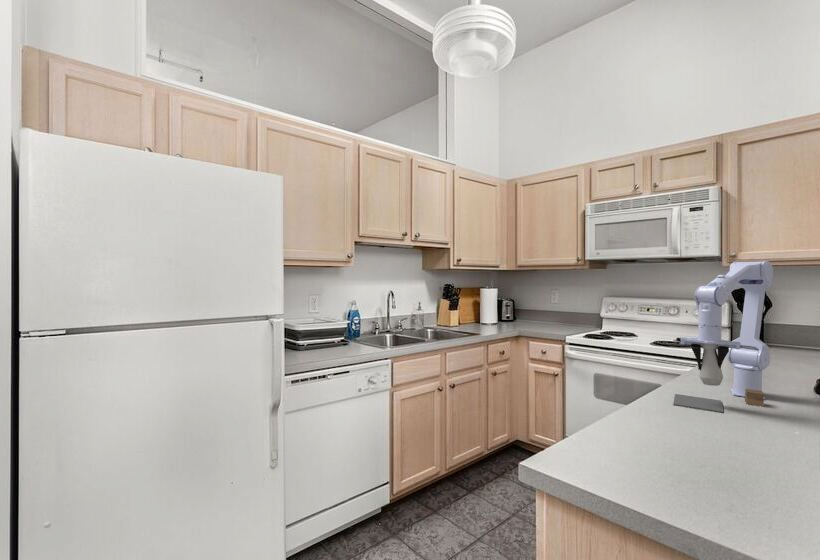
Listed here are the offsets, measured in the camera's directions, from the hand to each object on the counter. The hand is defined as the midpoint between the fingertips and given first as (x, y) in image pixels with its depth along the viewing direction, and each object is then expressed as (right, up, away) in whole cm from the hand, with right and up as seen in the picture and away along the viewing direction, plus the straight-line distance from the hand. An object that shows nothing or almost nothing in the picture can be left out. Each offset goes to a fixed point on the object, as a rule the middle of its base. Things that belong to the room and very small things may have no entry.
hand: (708, 370), depth 123 cm
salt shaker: (0, -4, -1) cm, 4 cm away
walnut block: (+15, -11, +1) cm, 18 cm away
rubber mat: (-3, -10, +1) cm, 11 cm away
